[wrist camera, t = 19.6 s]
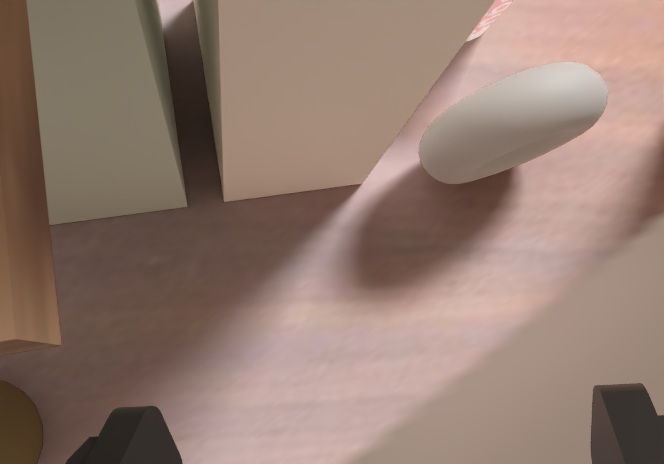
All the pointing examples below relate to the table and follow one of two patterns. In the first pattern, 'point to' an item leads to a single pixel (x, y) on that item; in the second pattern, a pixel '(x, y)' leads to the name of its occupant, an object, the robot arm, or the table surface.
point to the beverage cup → (489, 17)
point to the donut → (512, 122)
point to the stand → (231, 94)
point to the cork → (18, 427)
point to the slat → (23, 198)
